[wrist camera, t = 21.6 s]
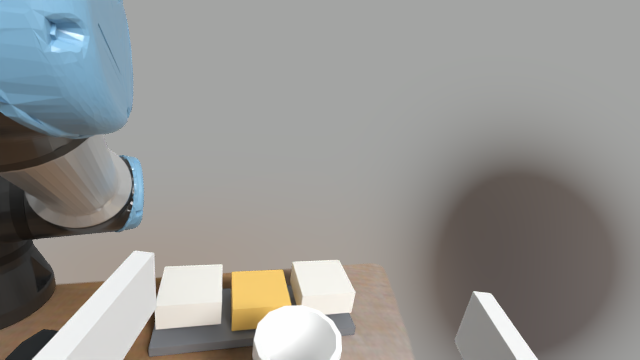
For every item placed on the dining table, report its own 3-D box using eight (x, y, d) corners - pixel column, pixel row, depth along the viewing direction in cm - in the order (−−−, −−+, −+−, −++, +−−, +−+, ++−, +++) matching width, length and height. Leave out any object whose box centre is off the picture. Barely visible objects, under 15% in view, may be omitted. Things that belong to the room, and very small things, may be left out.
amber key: (231, 331, 48) (232, 309, 47) (230, 291, 56) (231, 271, 54) (288, 325, 51) (291, 305, 49) (280, 288, 58) (282, 269, 57)
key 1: (299, 316, 50) (302, 296, 49) (290, 280, 58) (292, 261, 57) (351, 312, 53) (355, 292, 51) (335, 278, 60) (338, 259, 59)
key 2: (155, 329, 45) (154, 306, 43) (165, 287, 52) (165, 266, 51) (220, 323, 47) (221, 301, 46) (221, 284, 55) (222, 264, 53)
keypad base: (149, 356, 45) (148, 348, 44) (162, 299, 54) (162, 292, 54) (353, 334, 53) (355, 327, 53) (334, 288, 63) (335, 282, 62)
